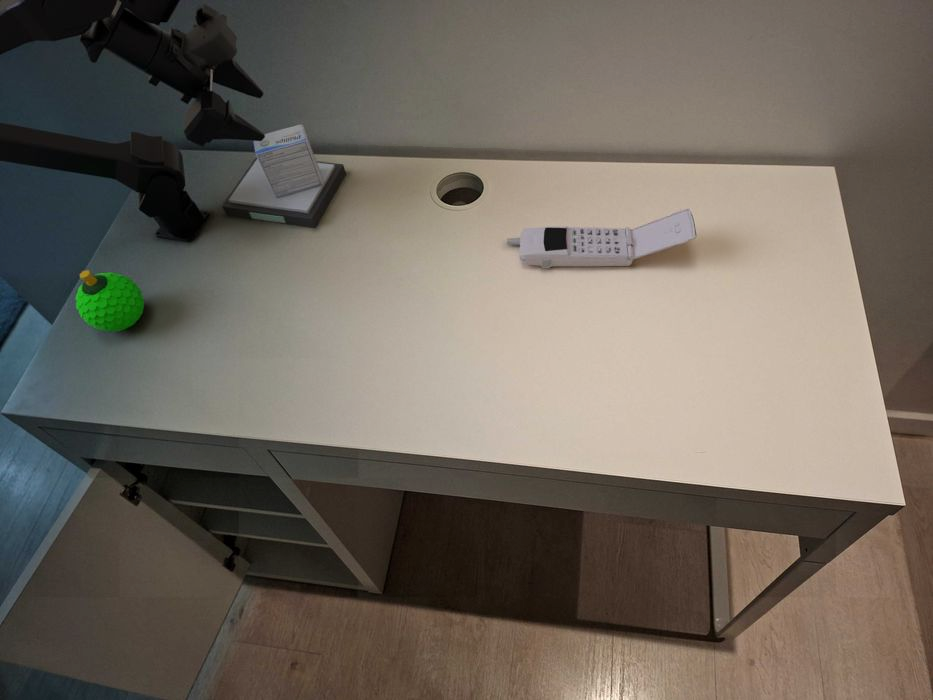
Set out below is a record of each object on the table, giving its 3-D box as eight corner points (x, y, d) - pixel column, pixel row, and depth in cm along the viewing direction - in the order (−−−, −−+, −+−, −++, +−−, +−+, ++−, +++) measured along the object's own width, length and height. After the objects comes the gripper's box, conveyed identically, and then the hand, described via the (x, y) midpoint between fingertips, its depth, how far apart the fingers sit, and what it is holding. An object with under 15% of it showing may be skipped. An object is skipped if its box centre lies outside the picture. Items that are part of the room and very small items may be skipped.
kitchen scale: (225, 216, 96) (219, 204, 94) (262, 163, 103) (256, 151, 101) (314, 229, 93) (309, 216, 91) (346, 173, 100) (342, 161, 98)
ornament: (88, 325, 86) (41, 279, 78) (136, 289, 89) (95, 242, 81) (118, 352, 82) (72, 308, 74) (166, 314, 86) (127, 268, 77)
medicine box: (319, 168, 97) (302, 122, 90) (324, 185, 94) (307, 139, 87) (272, 182, 96) (251, 136, 89) (275, 199, 94) (254, 153, 87)
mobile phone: (698, 238, 77) (504, 239, 80) (688, 270, 82) (506, 269, 84) (692, 207, 80) (506, 208, 83) (682, 238, 85) (507, 239, 88)
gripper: (179, 51, 66) (298, 124, 77) (185, -41, 75) (292, 37, 86) (134, 115, 72) (251, 175, 83) (145, 23, 81) (250, 88, 92)
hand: (262, 116), depth 86 cm, fingers open, 9 cm apart
